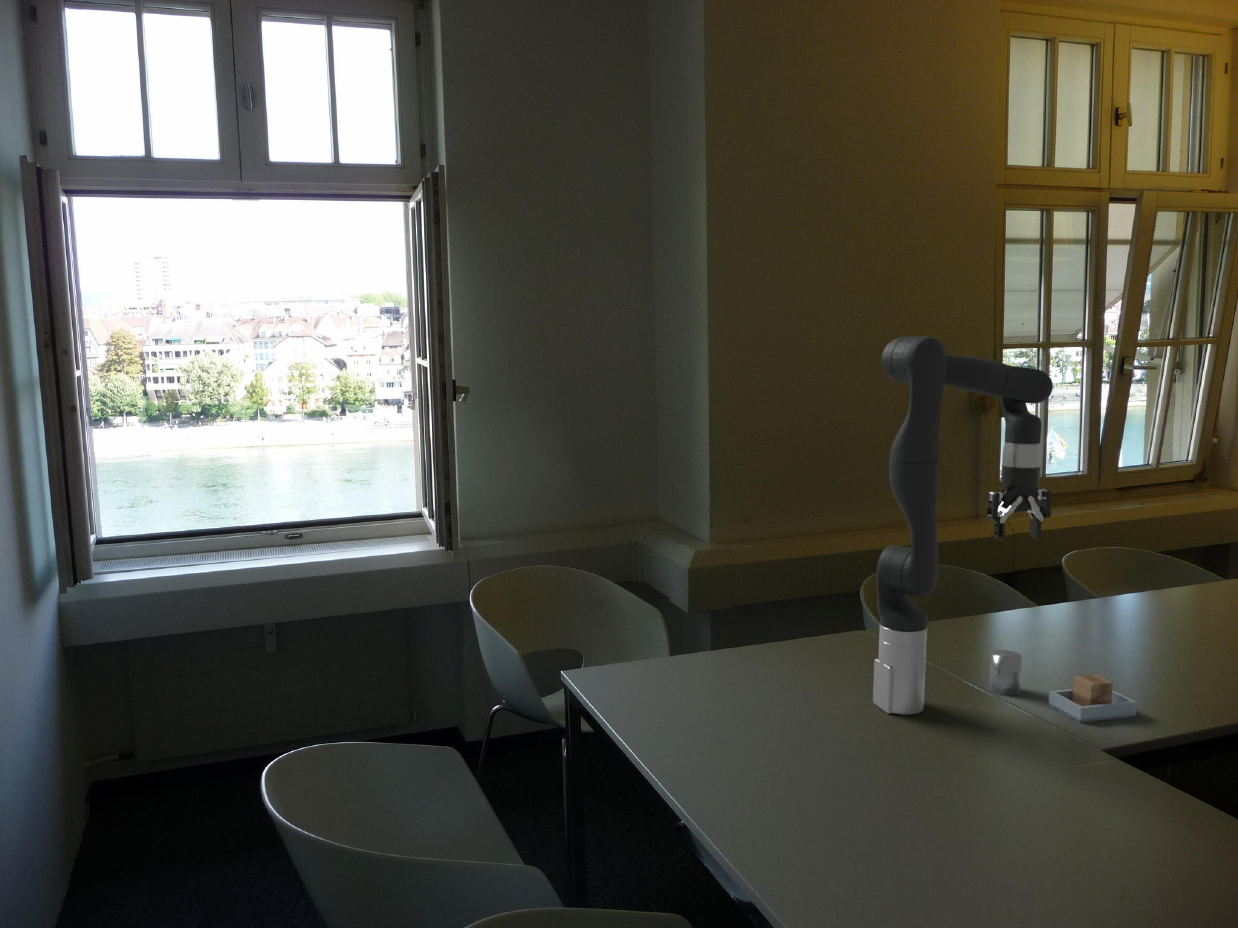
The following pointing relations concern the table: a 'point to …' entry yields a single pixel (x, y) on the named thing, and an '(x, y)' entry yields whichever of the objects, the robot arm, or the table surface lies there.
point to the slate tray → (1092, 707)
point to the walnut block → (1091, 690)
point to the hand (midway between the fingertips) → (1017, 538)
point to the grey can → (1005, 672)
